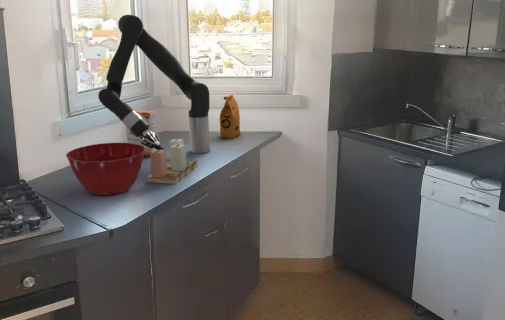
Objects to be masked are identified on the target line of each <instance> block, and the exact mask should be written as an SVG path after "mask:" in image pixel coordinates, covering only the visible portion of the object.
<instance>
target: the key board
mask: <svg viewBox="0 0 505 320" xmlns="http://www.w3.org/2000/svg"><path fill="white" fill-rule="evenodd" d="M195 168H196V169H197V168H198V159H195V160H194V161H186V168H185V169H183V170H182V171H172V164H171V160H170V161H168V162H167V175H165V176H164V177H152V173H151V174H149V175H147V176H146V181H147V183H159V184H175V185H177V184H178V183H180V182H181V180H183V179H185V177H187V175H189V174H190V173H192V172H193V171H194V170H195ZM191 171H192V172H191Z"/></svg>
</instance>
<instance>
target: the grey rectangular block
mask: <svg viewBox="0 0 505 320" xmlns="http://www.w3.org/2000/svg"><path fill="white" fill-rule="evenodd" d="M168 142H169V145H168V146H169V154H170V157H169V158H170V160H171V149H170V147H171V146H173V145H175V144H177V145H185V144H184V139H183V138H173V139H171V140H169V141H168ZM171 164H172V163H171Z"/></svg>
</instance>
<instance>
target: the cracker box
mask: <svg viewBox="0 0 505 320" xmlns="http://www.w3.org/2000/svg"><path fill="white" fill-rule="evenodd" d="M133 110H134V111H135V112H136V113H137V114H139V115H140V116H141V117H142V118H143V119H144V121H145V122H146V123H147V124H148V125H149V130H151V131H152V132H153V133H156V132H157V133H159V132H158V122H157V121H158V120H157V111H156V110H145V109H144V110H143V109H133ZM125 132H126V143H132V144H138V145H141V146H143V147H144V148H145V151H144V154H143V156H145V157H150V152H152V151H153V150H156V149H154V148H152V149H151V148H149V147H147V146H145V145H143V144H141V141H142V139H141V138H140V137H136V136H135V135H134V134H133V133H132V132H131V131H130V130H129V129H128V128H127V127H126V126H125Z"/></svg>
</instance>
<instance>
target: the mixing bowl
mask: <svg viewBox="0 0 505 320" xmlns="http://www.w3.org/2000/svg"><path fill="white" fill-rule="evenodd" d="M144 151H145V148H144V147H143V146H141V145H138V144H132V143H127V142H106V143H105V142H104V143H97V144H96V143H95V144H89V145H86V146H80V147H77V148H74V149H72V150H69V151H68V152H67V153H66V154H65V156H66V158H67V160H68V163H69V165H70V167H71V170H72V172H73V173H74V175H75V177H76V179H77V180H78V182H79V183H80V184H81V186H82V187H83V188H84V189H85V191H88V192H89V193H92V194H93V195H96V196H115V195H118V194H122V193H124V192H126V191H127V190H129V189H130V188H131V187H132V186H133V185H134V183H135V182H136V180H137V179H138V176H139V174H140V171H141V168H142V165H143V164H142V163H143V159H144V155H143V154H144Z"/></svg>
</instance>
